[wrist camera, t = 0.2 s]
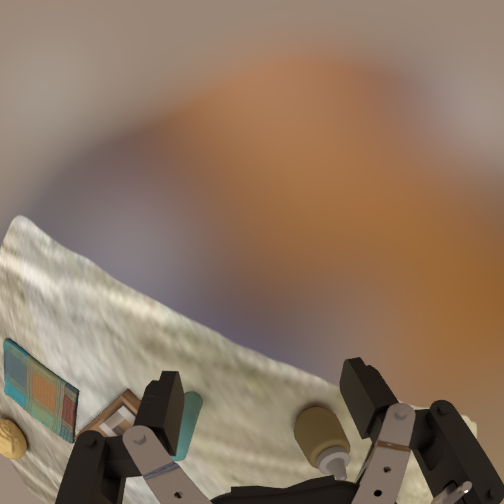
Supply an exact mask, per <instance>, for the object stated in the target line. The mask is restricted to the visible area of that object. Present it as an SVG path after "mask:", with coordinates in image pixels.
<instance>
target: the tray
mask: <svg viewBox="0 0 504 504" xmlns="http://www.w3.org/2000/svg"><path fill="white" fill-rule="evenodd" d="M140 403H141V401H140V400H139V399H138V398H137V397H136V396H135V395H134V394H133V393H132V392H131V391H130V390H129V389H127V390H126V391H125V392H124V393H123V394H122V395H121V396H120V397H119V398H117V399H116V400H115V401H114V402H113V403H112V404H111V405H110V406H109V407H107V408H106V409H105V410H104V411H103V412H102V413H101V414H100V415H98V416H97V417H96V418H95V419H94V420H93V421H92V422H91V423H89V424H88V425H87V426H86V427H85V428H84V429H83V430H82V431H80V432H79V433H78V434H77V435H76V436H75V437H74V439H75V440H76V439H77V437H78V436H79V435H80V434H81V433H82V432H84V431H87V430H95V431H98V432H100V433H101V434H102V435H103V437H111V436H120V435H123V434H124V432H125V431H126V430H127V429H129V428H130V427H132V426H133V424H134V421H135V418H136V415H137V412H138V409H139V406H140Z"/></svg>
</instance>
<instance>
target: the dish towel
mask: <svg viewBox="0 0 504 504" xmlns="http://www.w3.org/2000/svg"><path fill="white" fill-rule="evenodd" d="M3 348H4V375H5V390H4V392H5V394H6V395H8V396H10V397H11V398H12V399H13V400H15V402H17V403H18V404H19V405H20V406H21V407H22V408H23V409H24V410H25V411H27V412H28V413H29V414H30V415H31V416H33V417H34V418H35V419H37V420H38V421H39V422H41V423H42V424H43V425H45V426H46V427H47V428H49V429H50V430H52V431H53V432H54V433H56V434H57V435H59V436H60V437H61V438H63V439H64V440H65V441H67V442H69V443H71V444H72V443H74V441H75V439H74V437H75V425H76V416H77V406H78V395H79V390H78V389H76V388H75V387H73V386H72V385H71V384H69V383H68V382H66V381H65V380H63V379H62V378H60V377H59V376H57V375H56V374H54V373H53V372H51V371H50V370H49V369H47V368H46V367H44V366H43V365H42V364H40V363H39V362H38V361H37V360H36V359H34V358H33V357H32V356H31V355H29V354H28V353H27V352H26V351H25V350H23V349H22V348H21V347H19V346H18V345H17V344H16V343H14V342H13V341H12V340H11V339H8V338H6V339H5V340H4V344H3Z"/></svg>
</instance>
